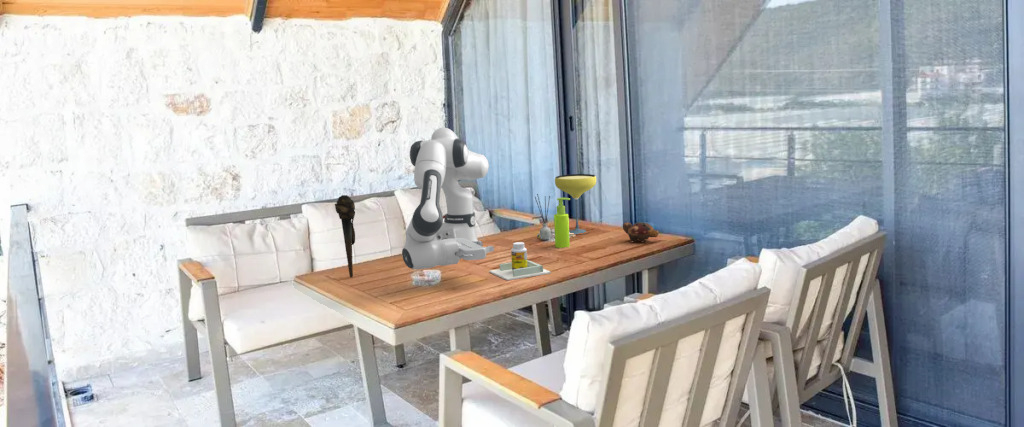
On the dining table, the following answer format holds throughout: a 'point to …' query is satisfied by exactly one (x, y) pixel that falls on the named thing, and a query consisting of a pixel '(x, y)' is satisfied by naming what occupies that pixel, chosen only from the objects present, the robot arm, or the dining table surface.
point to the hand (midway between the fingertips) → (487, 245)
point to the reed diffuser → (544, 224)
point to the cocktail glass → (575, 189)
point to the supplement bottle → (519, 256)
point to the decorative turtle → (639, 231)
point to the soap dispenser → (561, 225)
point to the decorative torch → (347, 225)
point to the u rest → (519, 271)
